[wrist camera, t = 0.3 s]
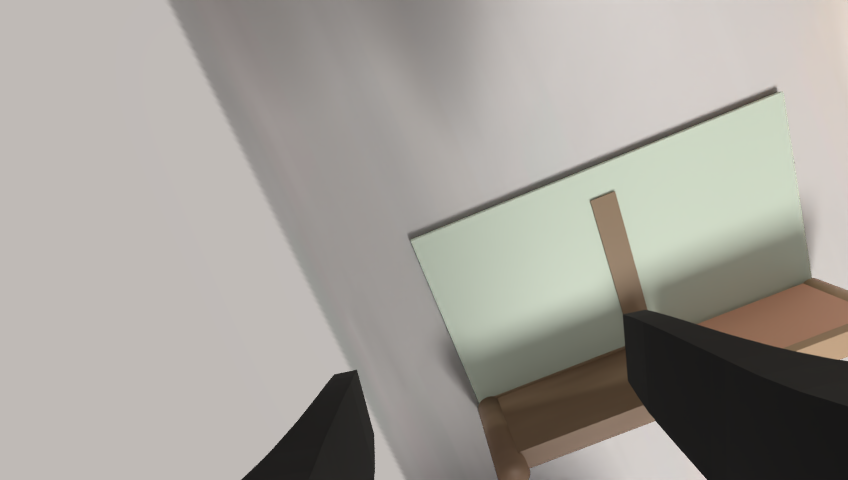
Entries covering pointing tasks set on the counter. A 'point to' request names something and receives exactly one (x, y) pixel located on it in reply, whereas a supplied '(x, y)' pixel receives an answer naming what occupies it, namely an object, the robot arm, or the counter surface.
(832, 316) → the hinged panel
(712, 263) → the card
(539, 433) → the fence fixed
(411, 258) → the counter surface
